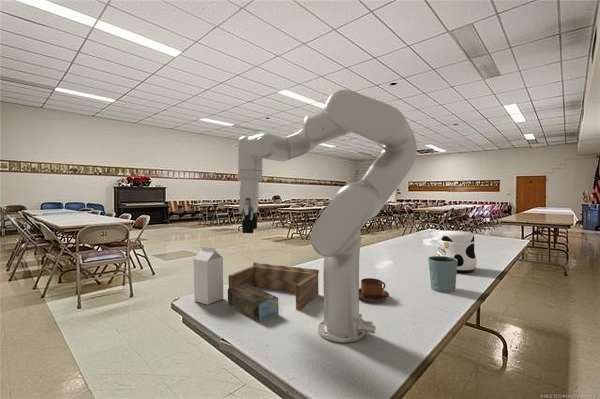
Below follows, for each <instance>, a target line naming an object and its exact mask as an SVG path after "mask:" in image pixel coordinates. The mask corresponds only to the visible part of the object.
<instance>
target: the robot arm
mask: <svg viewBox="0 0 600 399" xmlns="http://www.w3.org/2000/svg"><path fill="white" fill-rule="evenodd" d="M352 133H354V134H356V135H358V136H361V137H363V138H366V139H368V140H369V141H371V142H373V143H375V144H377V145H378V146H380V148H381V152H380V154H379V156H378V157H377V158H375V160H374V161H373V162H372V164H371V165H370V166H369V168H368V169H367V171H366V172H365V173H364V175H363V176H362V177H361V178H360V180H359V181H354V182H350V183H347V184H345V185H344V186H343V187H342V188H340V189H339V190H338V192H336V194H335V195H334V196H333V197H332V199H331V200H330V202H329V203H328V205H327V206H326V207H325V209H324V210H323V212H322V213H321V214H320V216H319V217H318V219H317V220H316V221H315V222H314V224H313V226H312V228H311V232H310V235H309V236H310V244H311V246H312V249H313V250H314V251H315V252H316V253H317V254H318V255H320V256H322V257H323V320H322V321H321V322H320V323H319V324H318V327H317V330H318V333H319V335H321V337H322V338H324V339H326V340H328V341H331V342H336V343H353V342H357V341H360V340H361V339H363V338H364V337H365V335H366V332H367V333H370V334H376V329H377V328H376V325H374V322H373V321H369V320H364V319H363V313H360V298H359V289H360V253H361V252H360V251H361V243H362V242H361V241H362V232H361V230H362V228H363V227H364V225H366V223H367V222H368V220H372V219H373V218H375V217H377V215H378V214H379V213H380V212H381V210H382V208H383V207H384V206H385V204H386V203H387V202H388V200H389V199H390V198H391V196H392V195H393V194H394V192H395V191H396V190H397V189H398V187H399V186H400V185H401V183H402V182H403V180H404V179H405V178H406V177H407V175H408V173H409V172H410V170H411V169H412V167H413V166H414V164H415V160H416V158H417V153H418V152H417V151H418V144H417V139H416V137H415V134H414V131H413V129H412V128H411V126H410V124H409V122H408V120H407V118H406V117H405V115H404V114H403V112H401V110H399V109H398V108H396V107H395V106H393V105H391V104H388V103H387V102H383V101H382V100H381V101H380V100H378V99H375V98H373V97H371V96H366V95H364V94H363V93H362V94H361V93H359V92H357V91H354V90H350V89H339V90H337V91H335V92H333V93H332V94H330V95H329V97H328V98H327V100H326V102H325V105H324V108H322V109H320V110H318V111H316V112H313V113H311V114H309V115H306V116H305V118H304V120H303V127H302V128H301V129H300V130H298V131H297V132H295V133H292V134H290V135H287V136H285V137H282V136H279V135H275V134H272V133H268V132H263V133H259V134H256V135H252V136H251V135H245V136H241V137H239V138H238V143H237V177H238V178H237V181H238V182H240V185H239V186H240V187H239V203H238V204H239V205H238V206H239V207H238V212H239V213H241V214H242V221H241V223H242V229H241V230H242V234H253V233H254V230H256V229H258V217H257V213H258V211H259V200H260V199H259V197H260V196H259V194H260V187H259V186H260V185H259V182H260V183H261V182H263V159H264V160H271V161H277V162H286V161H290V160H293V159H295V158H298V157H301V156H304V155H305V154H307V153H309V152H310V151H312V150H314V149H315V148H316V147H317V146H319V145H322V144H324V143H326V142H329V141H332V140H335V139H337V138H340V137H343V136H346V135H349V134H352Z"/></svg>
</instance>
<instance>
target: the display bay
mask: <svg viewBox="0 0 600 399" xmlns="http://www.w3.org/2000/svg"><path fill="white" fill-rule="evenodd" d="M252 264H253V265H251V266H248V267H246V268H243V269H241V270H238V271H236V272H233V273H231V274H228V277H227V278H228V289H229V288H233V287H236V286H240V285H243V284H248V285H251V286H253V287H256V286H257V287H256V288H263V287H264V288H265V289H269V288H271V289H270V290H276V289H278V290H277V291H282V290H283V292H288V291H289V292H290V293H295V310H297V311H301V310H302V309H304V308H305V307H306V306H307V305H308V304H309V303H310V302H312V301H313V300H315V299H316V297H318V296H319V292H320V290H319V273H320V270H319V269H318V268H316V269H314V268H307V267H300V266H292V265H291V266H288V265H281V264H271V263H262V262H255V261H254V262H253V263H252Z"/></svg>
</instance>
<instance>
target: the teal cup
mask: <svg viewBox="0 0 600 399" xmlns="http://www.w3.org/2000/svg"><path fill="white" fill-rule="evenodd" d="M427 259H428V261H427V262H428V266H429V267H428V268H429V278H430V279H429V281H430V289H431V290H432V291H433V292H437V293H441V294H442V293H443V294H453V293H455V292H456V287H457V286H456V285H457V284H456V283H457V262H458V260H457V259H455V258H452V257H446V256H436V255H433V256H429V257H428V258H427Z"/></svg>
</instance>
